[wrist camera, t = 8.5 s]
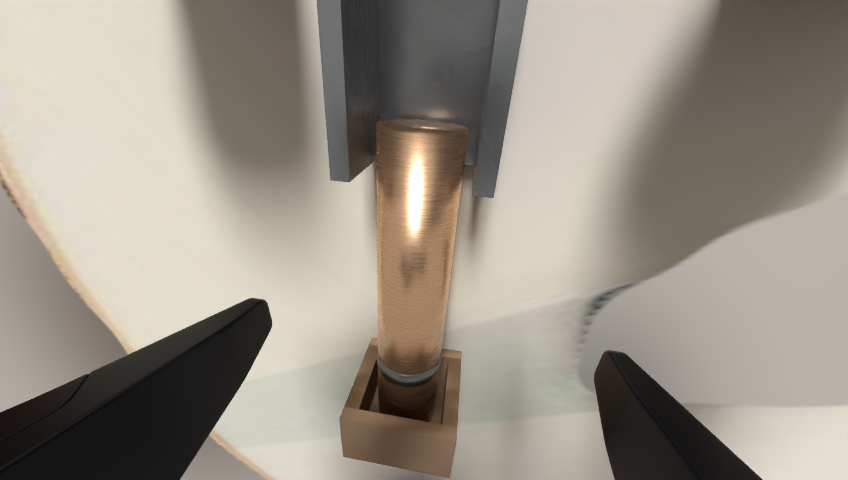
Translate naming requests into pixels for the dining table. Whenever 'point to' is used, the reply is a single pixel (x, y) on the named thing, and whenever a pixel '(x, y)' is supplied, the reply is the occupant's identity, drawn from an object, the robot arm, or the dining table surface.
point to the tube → (414, 256)
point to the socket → (402, 422)
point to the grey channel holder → (418, 74)
